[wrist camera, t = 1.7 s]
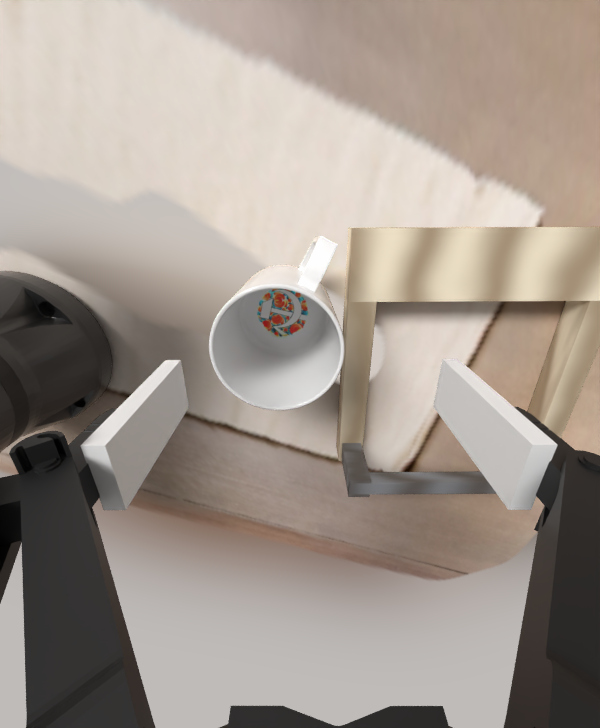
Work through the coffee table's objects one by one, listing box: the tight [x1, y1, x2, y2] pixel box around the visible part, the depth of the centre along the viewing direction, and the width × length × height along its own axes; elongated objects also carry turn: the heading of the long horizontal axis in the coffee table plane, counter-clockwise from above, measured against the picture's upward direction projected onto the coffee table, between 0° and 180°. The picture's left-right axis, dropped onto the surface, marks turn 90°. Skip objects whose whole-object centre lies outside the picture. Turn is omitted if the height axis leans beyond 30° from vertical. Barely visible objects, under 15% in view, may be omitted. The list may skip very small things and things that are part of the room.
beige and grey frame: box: [336, 227, 600, 497], centre depth 29 cm, size 24×24×8 cm
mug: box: [209, 236, 345, 410], centre depth 25 cm, size 12×9×11 cm
